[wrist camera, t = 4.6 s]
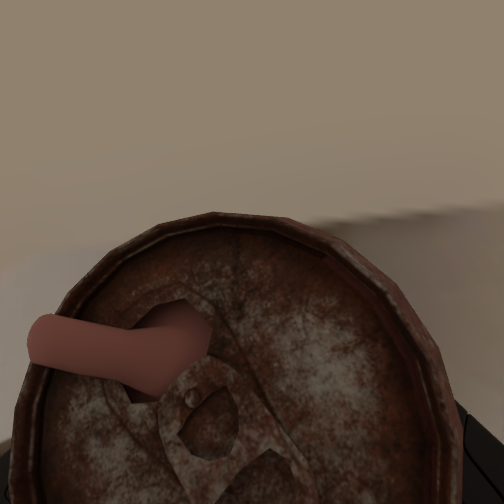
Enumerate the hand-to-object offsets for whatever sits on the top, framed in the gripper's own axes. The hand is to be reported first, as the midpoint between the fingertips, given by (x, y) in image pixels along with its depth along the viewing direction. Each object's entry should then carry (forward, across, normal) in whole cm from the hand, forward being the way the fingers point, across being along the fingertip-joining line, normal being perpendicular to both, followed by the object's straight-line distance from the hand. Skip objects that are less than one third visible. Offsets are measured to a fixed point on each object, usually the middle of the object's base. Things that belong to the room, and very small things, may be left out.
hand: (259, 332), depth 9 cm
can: (+5, -1, +7) cm, 9 cm away
